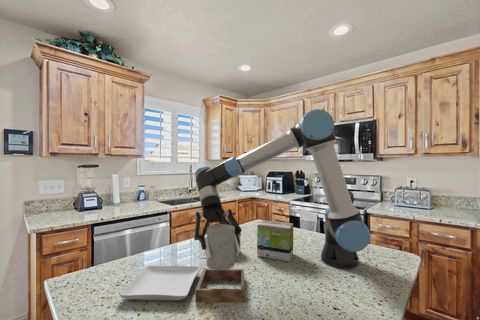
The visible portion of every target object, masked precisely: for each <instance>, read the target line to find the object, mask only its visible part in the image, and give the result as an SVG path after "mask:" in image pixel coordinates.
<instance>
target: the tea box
mask: <svg viewBox="0 0 480 320" xmlns="http://www.w3.org/2000/svg"><path fill="white" fill-rule="evenodd" d="M256 240H257V243H256V245H257V246H256V248H257V249H256V250H257V253H256V255H257V257H260V258H262V257H264V258H269V259H273V260H280V261H282V262H283V261H284V262H290V261H291V258H292V256H293V255H294V223H291V222H290V223H289V222H284V221H283V222H282V221H275V220H274V221H273V220H265V219H263V220H262V221H261V222H260V223H259V224H257V239H256Z"/></svg>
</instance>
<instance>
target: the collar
mask: <svg viewBox="0 0 480 320" xmlns="http://www.w3.org/2000/svg"><path fill="white" fill-rule="evenodd" d="M207 280H214V281H216V280H223V281H224V280H225V281H227V280H228V281H240V288H204V286H205V284H206V281H207ZM196 302H197V303H199V302H200V303H203V302H204V303H206V302H207V303H245V269H244V268H230V269H227V270H213V269H210V268H203V270H202V273H201V275H200V278H199V280H198V283H197V285H196V288H195V303H196Z"/></svg>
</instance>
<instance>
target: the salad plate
mask: <svg viewBox="0 0 480 320" xmlns="http://www.w3.org/2000/svg"><path fill="white" fill-rule="evenodd" d="M200 270H201V267H200V266H192V265H147V266H146V267H145V268H143V269H142V271H141V272H139V273H138V274H137V275H136V276H135V278H134V279H133V280H132V281H131V282H129V284H127V286H125V288H124V289H122V291H120V293H119V296H120V297H121V298H123V299H126V300H140V301H141V300H142V301H181V300H184V299H186V298H187V297H188V295H189V293H190V290H191V289H192V285H193V283H194V281H195V279H196V278H197V275H198V274H199V272H200Z"/></svg>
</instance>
